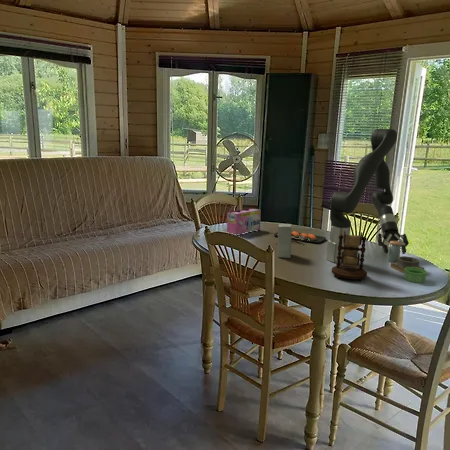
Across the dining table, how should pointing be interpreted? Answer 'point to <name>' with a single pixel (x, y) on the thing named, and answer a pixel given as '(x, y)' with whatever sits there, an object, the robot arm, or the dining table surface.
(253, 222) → the gum box
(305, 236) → the sushi plate
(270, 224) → the dining table surface
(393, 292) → the dining table surface
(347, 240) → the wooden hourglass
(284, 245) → the skincare box
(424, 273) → the ramekin
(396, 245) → the canister
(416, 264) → the socket
